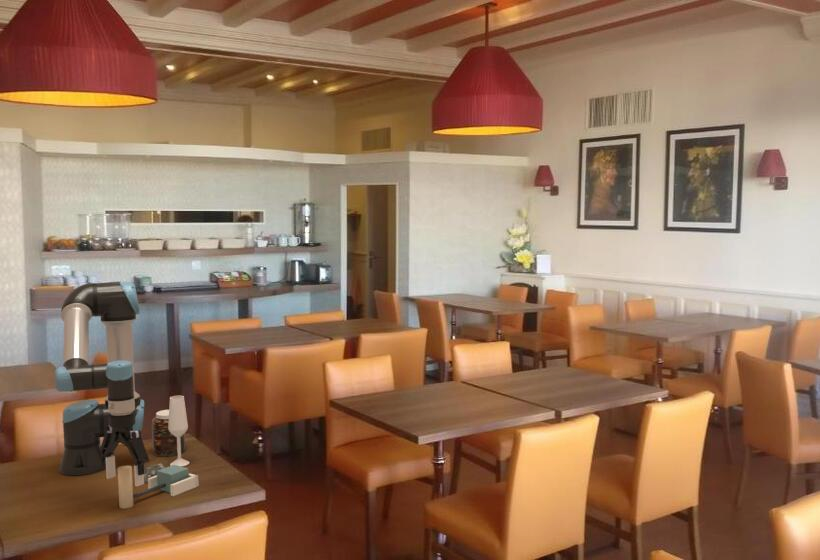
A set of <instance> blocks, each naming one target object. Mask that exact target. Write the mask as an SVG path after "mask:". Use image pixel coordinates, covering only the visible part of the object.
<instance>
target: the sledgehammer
mask: <svg viewBox="0 0 820 560" xmlns="http://www.w3.org/2000/svg"><path fill="white" fill-rule="evenodd" d="M132 468H133V467H132V466H131V465H122V466H119V467H117V484H118V485H117V486H118V487H117V488H118V503H119V504H118V506H119V508H120V509H130V508H133V507H134V499H137V498H139V497H142V496H145V495H147V494H150V493H154V492H156V491H158V490H160V491H163V492H167V493H170V485H171V484H174V483H176V482H179V481H181V480H184V479H187V478H189V473H190V469H189V468H188V467H185V466H177V465H172V466H167V467H165V468H164V469H161V470H158V471H157V485H158V486H155V487H153V488H150V489H148V488H147V489H145V490H142V491H140V492H137V493H135V494H134V491H133V490H134V488H133V469H132Z"/></svg>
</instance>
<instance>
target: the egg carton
mask: <svg viewBox="0 0 820 560" xmlns="http://www.w3.org/2000/svg"><path fill="white" fill-rule="evenodd" d="M164 468H166V467H165V466H164V465H163V463H157V464H156V463H155V464H154V465H151V464H150V465H149V467H146V464H144V483H148V478H151V477H153V476H156V475H157V471H158V470H161V469H164Z"/></svg>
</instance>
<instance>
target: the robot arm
mask: <svg viewBox="0 0 820 560" xmlns="http://www.w3.org/2000/svg"><path fill="white" fill-rule="evenodd" d="M61 305H62V306H61V309H60V317H61V319H62V321H63V351H62V352H63V353H62V354H63V356H62V358H63V359H62V360H63V361H62V366H60V367H57V368H56V369H55V372H54V379H55V380H54V381H55V389H56V391H58V392H62V393H63V392H77V391H78V392H79V391H88V390H98V389H99V390H100V389H101V390H102V389H107V396H105V397H104V403H100V402H99V401H98V400H97V399H85V400H80V401H76V402H73V403H71V404H69V405H67V406H65V407H64V409H63V410H62V420H61V422H62V424H63V425H62V427H63V430H62V431H63V448H64V449H63V452H62V457H61V460H60V464H59V473H60V474H62V475H65V476H66V475H67V476H85V475H88V474H89V475H90V474H93V473H97V472H100V471H102V470H104V469H105V473H106V475H105V476H106V480H107V479H112V478H116V476H117V473H116V456H115V451H116V450H117V447H118V446H119V444H121V445H123V446H124V447H126V448H127V449H128V451H129V453H130V455H131V457H132V459H133V461H134V464H133V471H134V472H133V474H134V486H135V487H140V486H142V485H145V479H144V465H145V464H146V463H148V462H150V459H149V456H148V452H147V450H146V446H145V444H144V441H143V439H142V432H141V431H142V429H143V425H144V424H143V423H144V414H145V401H144V399H141V397H140V396H141V395H140V394H139V393H138V392H137V391H136V388H135V387H136V386H135V367H134V365H135V363H134V345H133V324H134V322H135V321H136V320H137V315H140V313H141V311H140V304H139V299H138V293H137V289H136V285H135V284H134V283H133V282H132V281H110V282H97V283H96V282H95V283H93V282H88V283H84V284H82V285H80V286H77V287H76V288H75V289H73V290H72V291H71V292H70V293H69V294H68V295H67V296H66V298H65V299H64V301H63V303H62V304H61ZM92 317H94V318H95V317H100V323H102V324H103V325H104V326H105V337H106V338H105V339H106V354H107V355H106V357H107V363H99V364H98V363H97V364H90V327H89V326H90V321H91V319H92ZM101 438H103V439H102V442H101Z"/></svg>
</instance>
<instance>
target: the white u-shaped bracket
mask: <svg viewBox="0 0 820 560" xmlns="http://www.w3.org/2000/svg"><path fill="white" fill-rule="evenodd" d="M155 486H158V485H157V475H156V476H153V477H151V478H148V482H147V489H150V488H153V487H155ZM199 486H200V485H199V475H197V474H193V473H190V472H189V478H187V479H184V480H181V481H179V482H176V483H174V484H171V485H170V492H169V493H170V496H171V497H175V496H177V495H180V494H182V493H185V492H187V491H190V490H193V489H195V488H197V487H199Z"/></svg>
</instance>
